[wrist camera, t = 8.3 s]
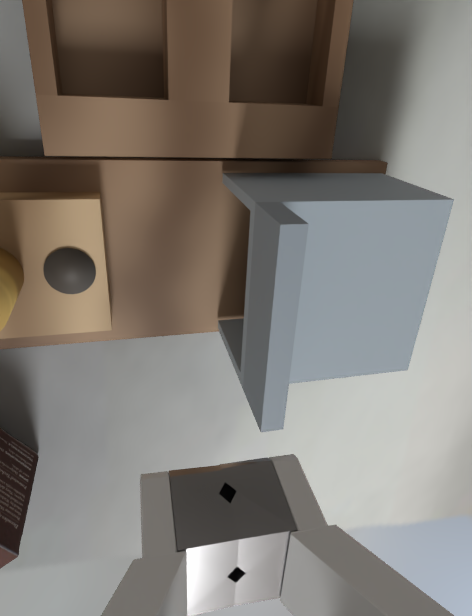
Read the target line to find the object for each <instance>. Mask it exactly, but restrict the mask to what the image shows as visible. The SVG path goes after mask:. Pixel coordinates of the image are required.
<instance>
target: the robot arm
mask: <svg viewBox="0 0 472 616" xmlns="http://www.w3.org/2000/svg"><path fill="white" fill-rule="evenodd" d="M140 496H141V529H142V558H140V559H135V560H133V562H132V564H131V565H130V567H129V569H128V571H127V572H126V574H125V576H124V577H123V579H122V581H121V582H120V584H119V586H118V587H117V589H116V591H115V593H114V594H113V596H112V598H111V600H110V601H109V603H108V605H107V606H106V608H105V610H104V611H103V613H102V615H101V616H193V615H198V614H202V613H206V612H210V611H215V610H219V609H223V608H227V607H232V606H237V605H242V604H248V603H254V602H260V601H265V600H271V599H277V598H280V601H281V602H282V603H283V605H284V606H285V607H286V608H287V609H288V611H289V612H290V613H291V614H292V615H293V616H454V615H453V614H451V613H450V612H449V611H447V610H446V609H445V608H444V607H442V606H441V605H440V604H438V603H437V602H436V601H434V600H433V599H432V598H430V597H429V596H428V595H426V594H425V593H424V592H423V591H421V590H420V589H419V588H417V587H416V586H415V585H413V584H412V583H411V582H409V581H408V580H407V579H406V578H404V577H403V576H402V575H401V574H399V573H398V572H397V571H395V570H394V569H393V568H391V567H390V566H389V565H387V564H386V563H385V562H384V561H382V560H381V559H380V558H378V557H377V556H376V555H374V554H373V553H372V552H371V551H369V550H368V549H367V548H365V547H364V546H363V545H361V544H360V543H359V542H357V541H356V540H355V539H353V538H352V537H351V536H350V535H348V534H347V533H346V532H344V531H343V530H342V529H341V528H339V527H338V526H337V525H330V526H328V525H327V522H326V520H325V518H324V516H323V514H322V511H321V509H320V507H319V505H318V502H317V500H316V498H315V496H314V494H313V491H312V489H311V487H310V485H309V482H308V480H307V478H306V476H305V474H304V471H303V469H302V467H301V465H300V462H299V460H298V458H297V457H296V456H295V455H294V454H291V455H284V456H276V457H269V458H261V459H254V460H247V461H240V462H233V463H227V464H220V465H218V466H208V467H199V468H190V469H181V470H172V471H169V473H168V471H166V472H157V473H148V474H141V479H140Z"/></svg>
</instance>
